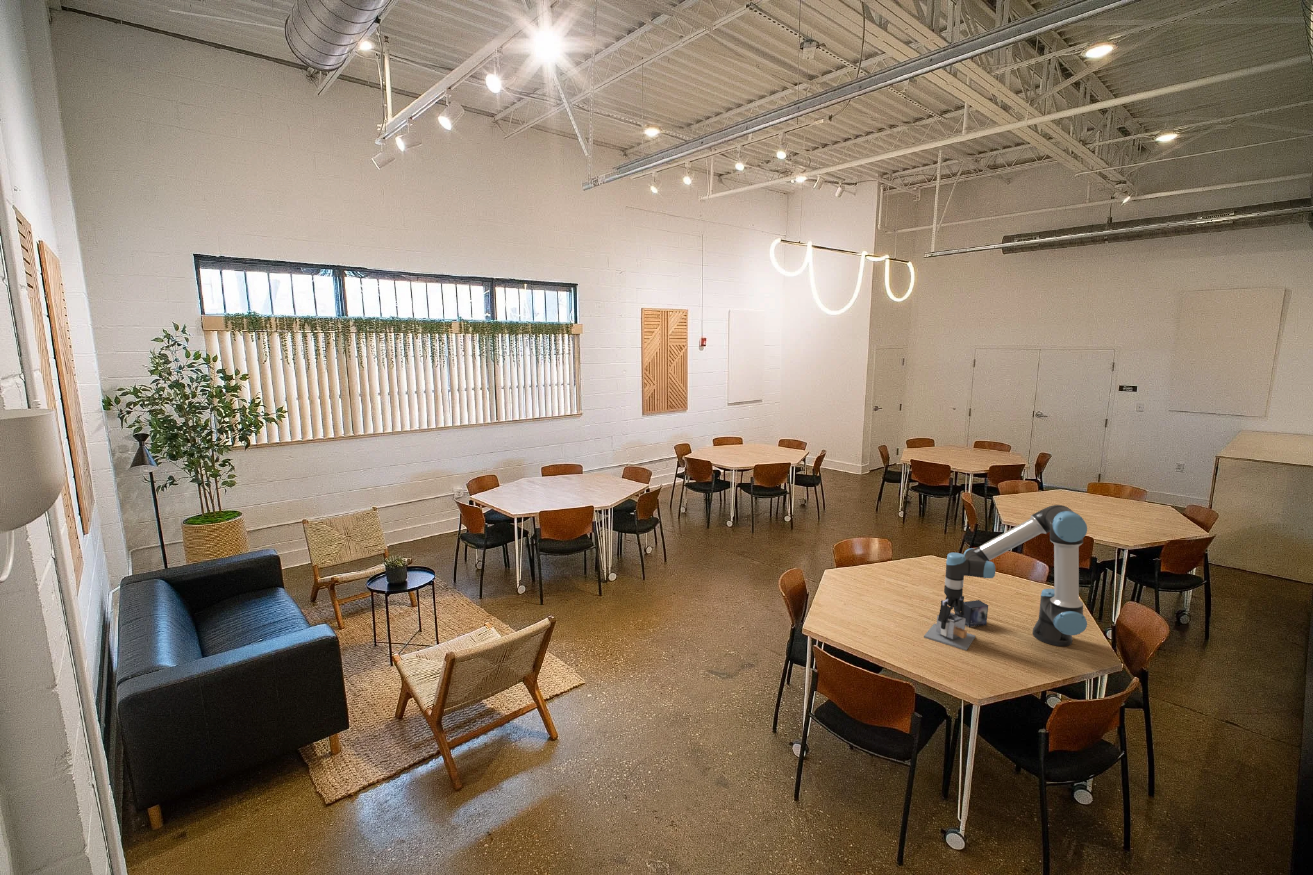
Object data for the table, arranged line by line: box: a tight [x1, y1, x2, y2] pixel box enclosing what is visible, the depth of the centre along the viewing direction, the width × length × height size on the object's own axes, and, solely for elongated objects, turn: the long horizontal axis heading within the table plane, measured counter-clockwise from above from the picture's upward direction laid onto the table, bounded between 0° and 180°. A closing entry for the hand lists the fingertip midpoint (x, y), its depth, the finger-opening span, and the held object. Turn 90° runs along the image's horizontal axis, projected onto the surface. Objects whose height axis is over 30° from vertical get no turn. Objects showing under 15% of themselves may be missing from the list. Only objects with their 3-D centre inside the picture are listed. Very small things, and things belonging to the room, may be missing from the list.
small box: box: [962, 599, 989, 628], centre depth 278 cm, size 11×6×10 cm, turn 106°
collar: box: [936, 611, 968, 639], centre depth 264 cm, size 8×11×8 cm
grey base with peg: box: [923, 619, 976, 651], centre depth 266 cm, size 18×16×8 cm
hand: (950, 632), depth 266 cm, fingers closed on collar, 8 cm apart
